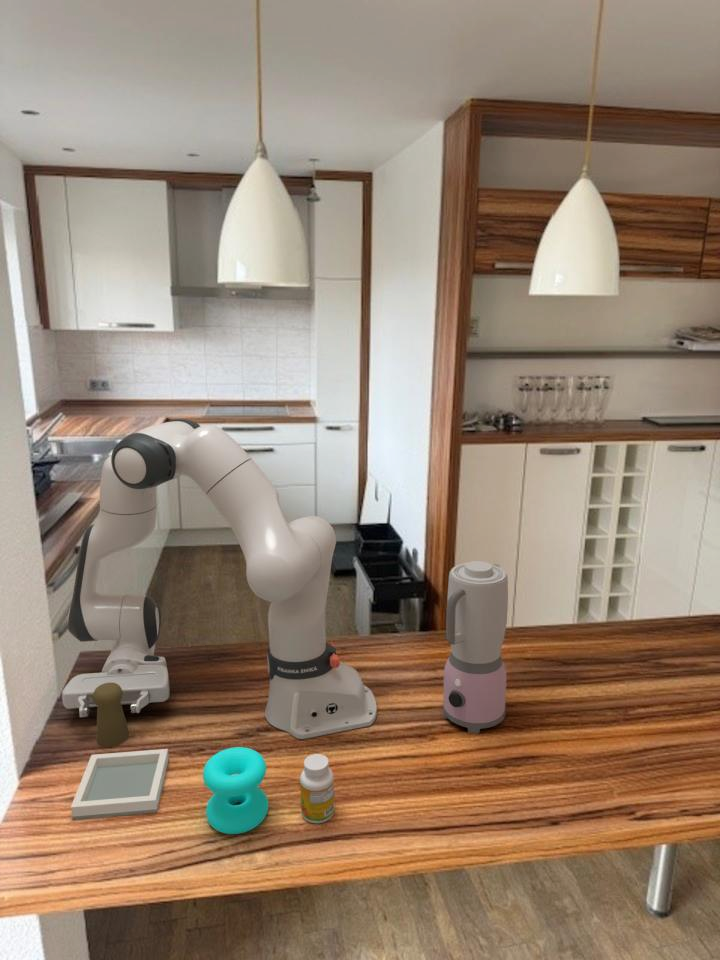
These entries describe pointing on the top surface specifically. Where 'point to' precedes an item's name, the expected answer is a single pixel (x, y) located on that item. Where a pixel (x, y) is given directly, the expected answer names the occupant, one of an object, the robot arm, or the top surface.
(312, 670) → the robot arm
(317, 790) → the supplement bottle
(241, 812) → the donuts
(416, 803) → the top surface
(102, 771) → the picture frame
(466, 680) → the blender
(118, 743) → the olive brown pawn
